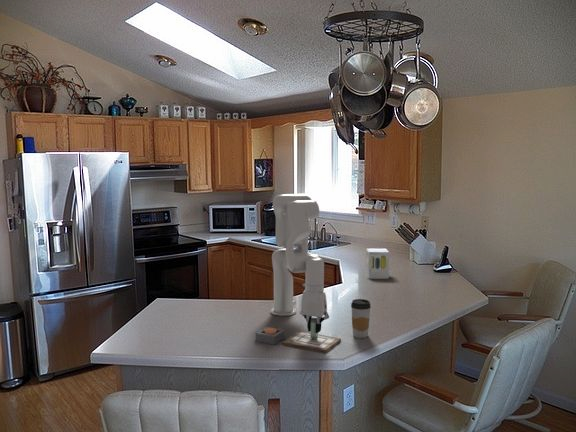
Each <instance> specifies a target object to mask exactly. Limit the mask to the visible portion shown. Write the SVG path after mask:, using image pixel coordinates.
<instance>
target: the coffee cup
mask: <svg viewBox="0 0 576 432" xmlns="http://www.w3.org/2000/svg"><path fill="white" fill-rule="evenodd" d="M350 306H351V321H352V322H351V328H352V334H353V337H355V338H357V339H358V338H359V339H364V338H367V337H368V336H369V328H370V315H371V303H370V300H368V299H362V298H356V299H353V300H352V301H351V303H350Z"/></svg>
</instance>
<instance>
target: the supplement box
mask: <svg viewBox="0 0 576 432" xmlns="http://www.w3.org/2000/svg"><path fill="white" fill-rule="evenodd" d="M365 250H366V251H365V252H366V253H365V255H366V256H365V257H366V258H365V275H366V277H367V279H369V280H370V279H372V280H373V279H375V280H376V279H378V280H381V279H382V280H388V279H389V276H390V274H389V273H390V272H389V271H390V251H389V250H388V249H387V248H386V247H385V248H372V247H371V248H366V249H365Z"/></svg>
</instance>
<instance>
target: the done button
mask: <svg viewBox="0 0 576 432" xmlns="http://www.w3.org/2000/svg"><path fill="white" fill-rule="evenodd" d="M275 328H276V327H271V328H266V329H265V330H264V333H266V334H271V335H274V334H275V333H276V329H275Z"/></svg>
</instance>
